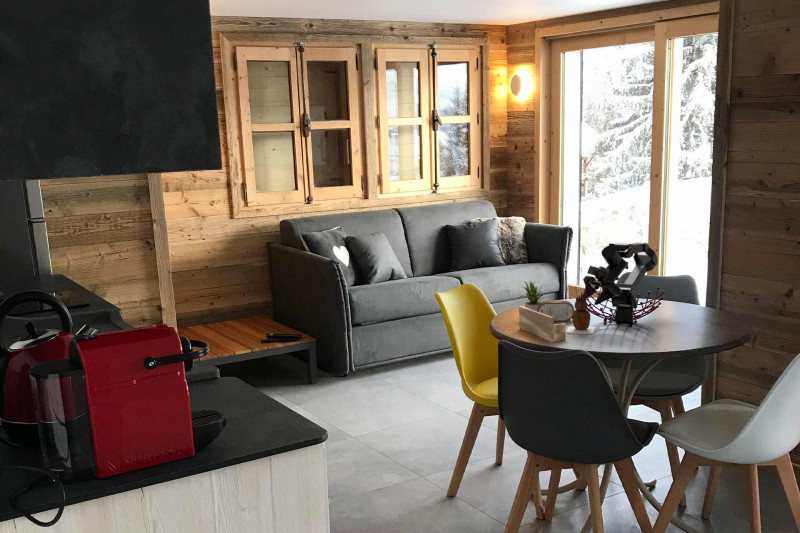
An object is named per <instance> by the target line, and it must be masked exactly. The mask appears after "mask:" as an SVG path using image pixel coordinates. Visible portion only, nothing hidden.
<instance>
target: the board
mask: <svg viewBox="0 0 800 533" xmlns="http://www.w3.org/2000/svg"><path fill="white" fill-rule="evenodd" d="M595 331H596V327H595V326H589V327H588V329H586V330H577V329H575V327H574V325H568V328H567V331H566V335H568V334H571V335H572V334H573V335H594V334H595Z"/></svg>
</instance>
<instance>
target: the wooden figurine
mask: <svg viewBox="0 0 800 533" xmlns="http://www.w3.org/2000/svg"><path fill="white" fill-rule="evenodd" d="M573 307H574V311H573V314H572V319H571V321H572V326H574V327H575V329H577V330H586V329H588V327H590V323H591V312H590V311H589V310H588V308H589V304H588V301H587V299H586V291H585V294H584V297H583V291H581V292H580V294H578V296H576V299H575V302H574V305H573Z"/></svg>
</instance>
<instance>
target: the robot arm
mask: <svg viewBox="0 0 800 533" xmlns="http://www.w3.org/2000/svg"><path fill="white" fill-rule="evenodd" d="M601 256H602V257H603V259H604V261H605V262H606V263H607V265H606V267H604V266H599V267H598V266H597V267H596V266H593V265H589V267H588V269H587V272H586V273H587V274H588V275H585V276H584V277H583V279H582V282H583V283H584V286H585V288H584V290H583V292H582V294H583V297H584V294H585V291H586V300H587V299H589V298H590V297H591V296H592V295H594V294H595V293H597V292H598V290H599V289H600V288H601V291H600V293H599V295H598V297H597V298H596V299H595V301H594V305H595V306H598V305H600V304H602V303H604V302H606V301H608V300H610V301H611V306H612V308H616V309H615V310H614V322H616V323H615V324H623V325H627V324H628V325H633V324H634V309H637V308H638V303H639V302H638V299H637V296H635V290H636V289H637V287H638V286H639V284H640V283H641V281H642V279H643V278H644V276H645V275H646V274H647V272H650V271H653V270H654V269H655V267H657V265H658V263H659V262H658V261H659V259H658V256H657V254H656V252H655V250H654V249H653V248H651V247H650V246H649V243H648V242H645V241H644V242H643V241H636V242H634V243H621V242H620V243H619V242H615V243H613V242H610V243H609V244H608V245H606V246H605V247H603V249H602V250H601ZM630 258H633V261H634V263H635V266H634V267H633V269H632V270H631V272H630V273H629V275H628V277H627V278H626V280H625V281H624V283H617V284H616V281H618V282H619V281H620V275H621V274H622V273H623V271H624V270H625V269H626V270H629V262H628V261H626V260H625V259H630Z"/></svg>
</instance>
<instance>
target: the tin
mask: <svg viewBox="0 0 800 533" xmlns="http://www.w3.org/2000/svg"><path fill="white" fill-rule="evenodd" d="M573 311H575V306H574V305H573V304H572V303H571V302H570V301H568V300H544V301H541V303H540V304H539V306H538V308H537V312H540V313H543V314H546V315H548V316H551V317H553V318H554V322H558V323H559V322H561V323H562V322H563V323H564V322H568V321H570V320H572V314H573Z"/></svg>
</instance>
